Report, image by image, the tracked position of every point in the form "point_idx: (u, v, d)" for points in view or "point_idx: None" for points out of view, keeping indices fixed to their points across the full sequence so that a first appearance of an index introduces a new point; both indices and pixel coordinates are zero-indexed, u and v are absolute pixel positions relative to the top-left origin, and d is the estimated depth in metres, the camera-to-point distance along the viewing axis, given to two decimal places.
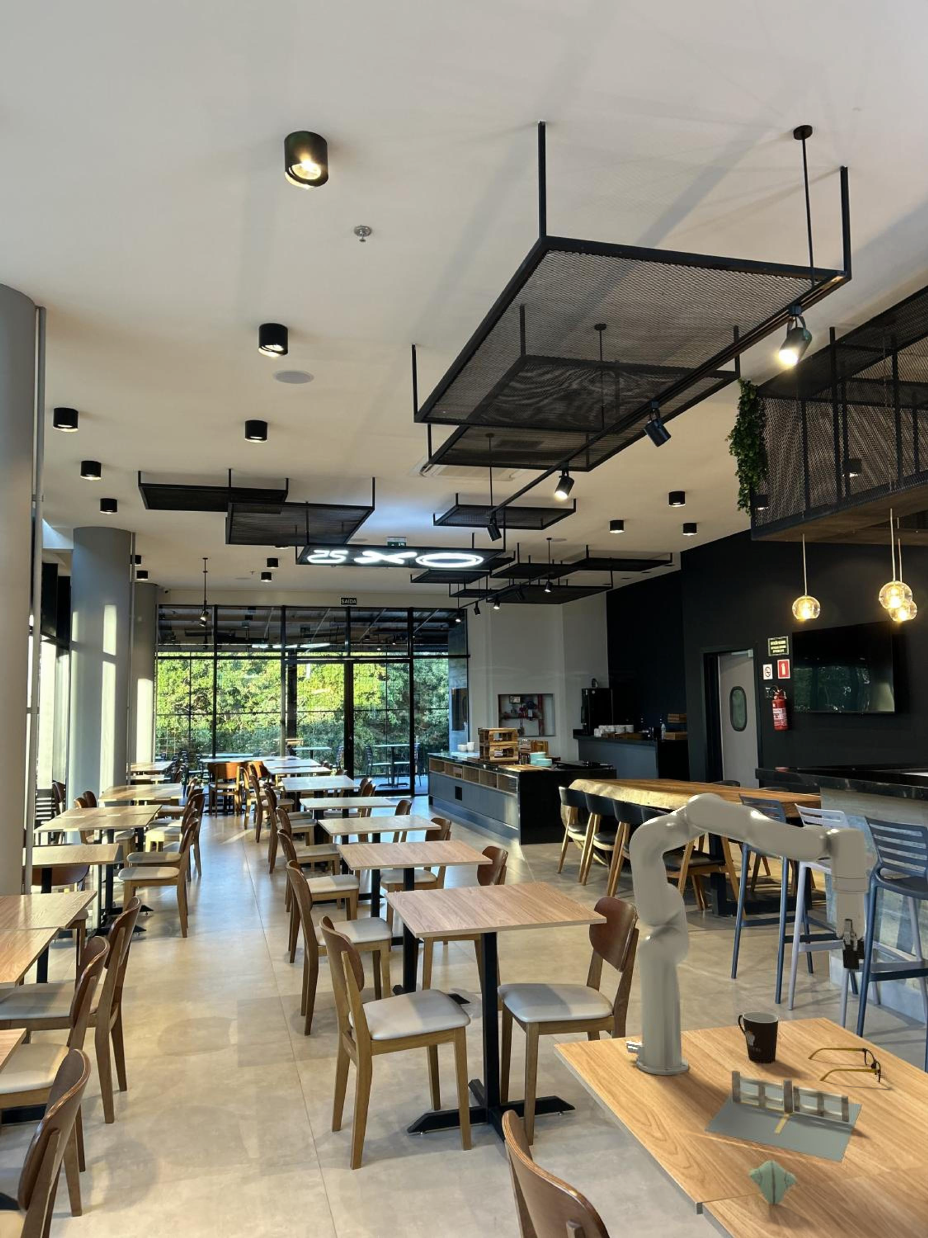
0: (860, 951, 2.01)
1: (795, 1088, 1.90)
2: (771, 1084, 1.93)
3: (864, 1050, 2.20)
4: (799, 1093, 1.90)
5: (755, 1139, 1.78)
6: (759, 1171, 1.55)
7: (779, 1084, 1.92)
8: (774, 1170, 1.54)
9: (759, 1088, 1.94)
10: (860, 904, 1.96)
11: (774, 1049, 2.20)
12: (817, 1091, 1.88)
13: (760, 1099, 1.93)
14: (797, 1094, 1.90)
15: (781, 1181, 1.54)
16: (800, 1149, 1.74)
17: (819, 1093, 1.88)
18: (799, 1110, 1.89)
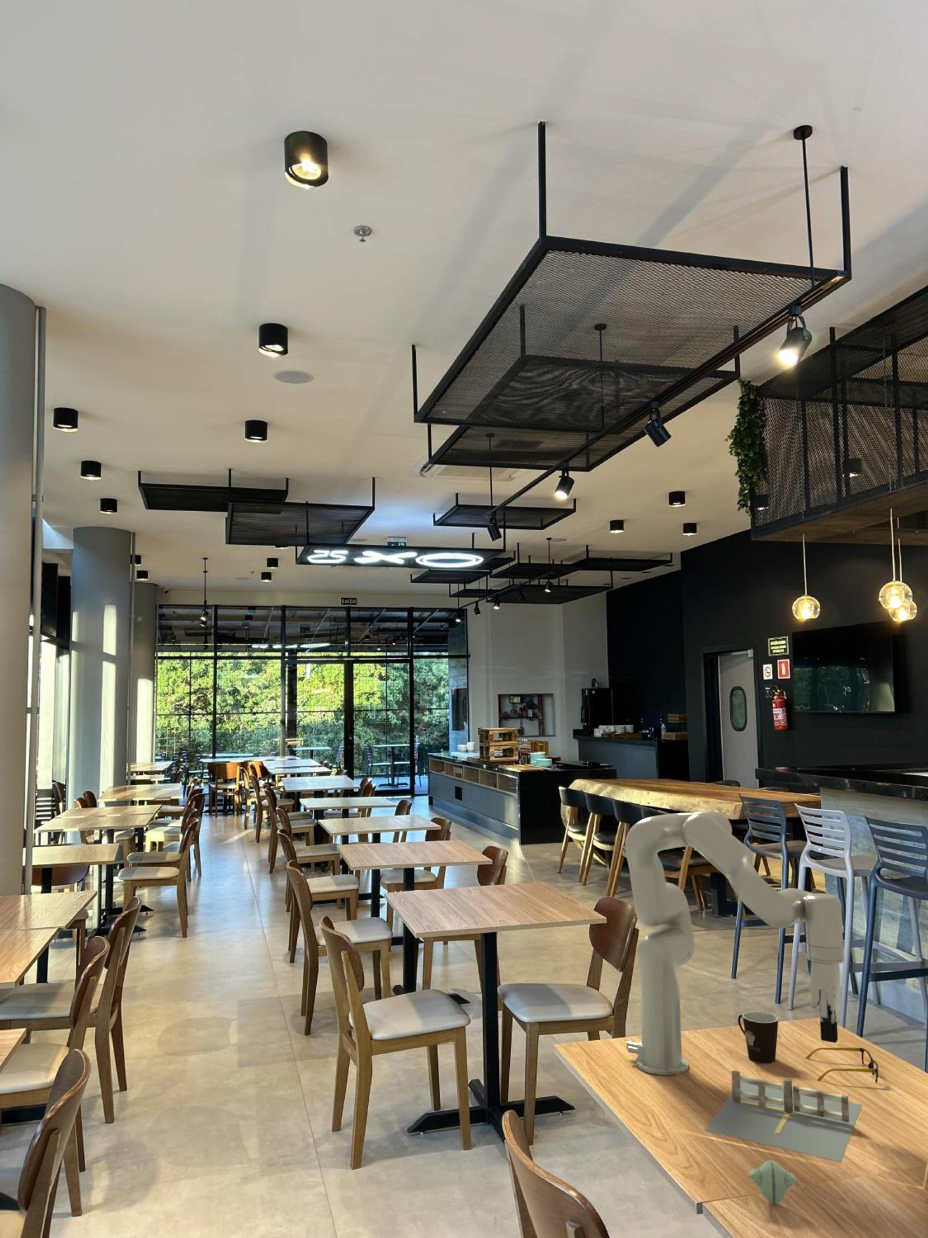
0: None
1: (795, 1088, 1.90)
2: (771, 1084, 1.93)
3: (861, 1050, 2.20)
4: (799, 1093, 1.90)
5: (755, 1139, 1.78)
6: (759, 1171, 1.55)
7: (779, 1084, 1.92)
8: (774, 1170, 1.54)
9: (759, 1088, 1.94)
10: (835, 974, 1.91)
11: (774, 1049, 2.20)
12: (817, 1091, 1.88)
13: (760, 1099, 1.93)
14: (797, 1094, 1.90)
15: (781, 1181, 1.54)
16: (800, 1149, 1.74)
17: (819, 1093, 1.88)
18: (799, 1110, 1.89)
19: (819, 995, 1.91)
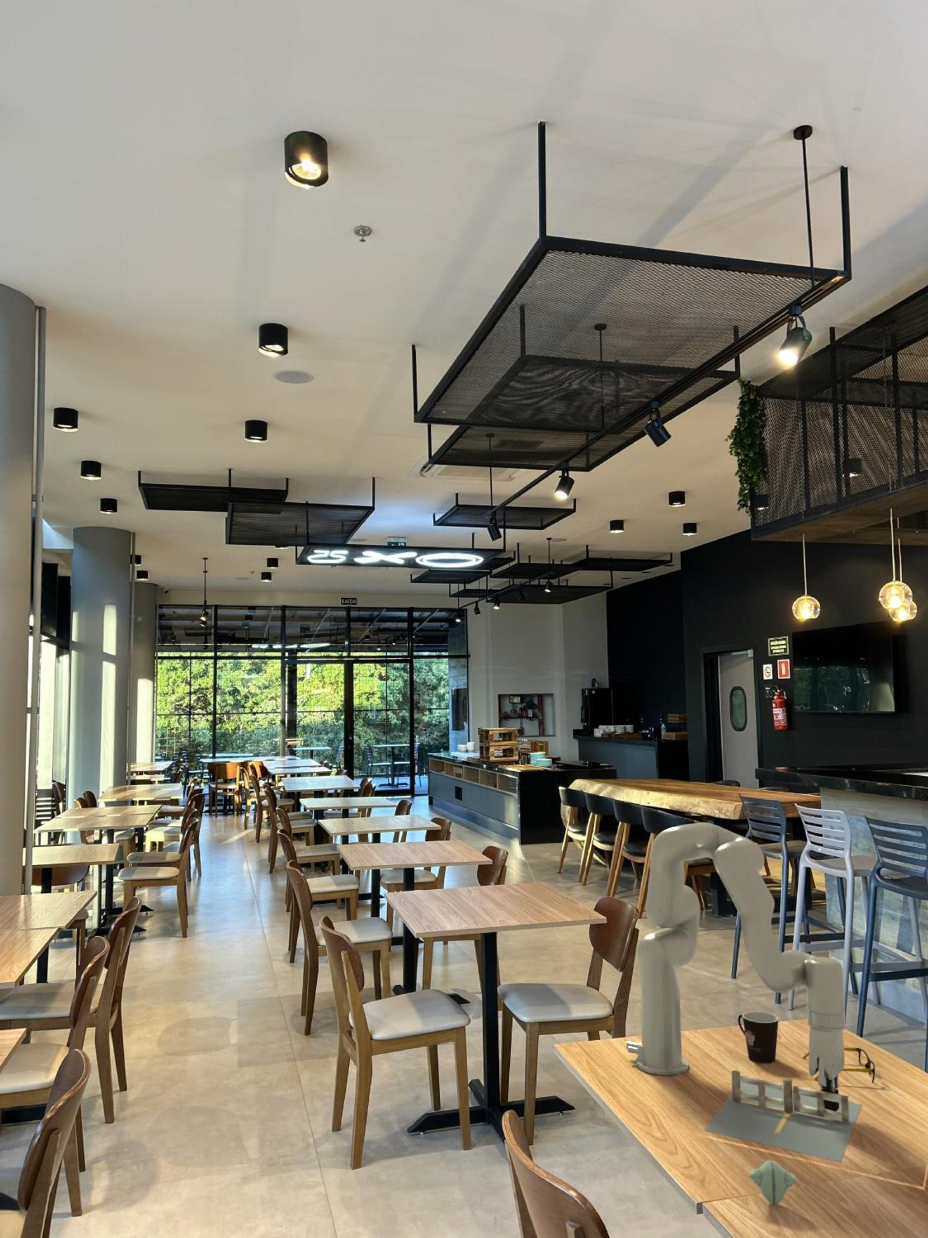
0: None
1: (795, 1088, 1.90)
2: (771, 1084, 1.93)
3: (858, 1050, 2.20)
4: (799, 1093, 1.90)
5: (755, 1139, 1.78)
6: (759, 1171, 1.55)
7: (779, 1084, 1.92)
8: (774, 1170, 1.54)
9: (759, 1088, 1.94)
10: (834, 1042, 1.88)
11: (774, 1049, 2.20)
12: (817, 1091, 1.88)
13: (760, 1099, 1.93)
14: (797, 1094, 1.90)
15: (781, 1181, 1.54)
16: (800, 1149, 1.74)
17: (819, 1093, 1.88)
18: (799, 1110, 1.89)
19: (817, 1062, 1.88)
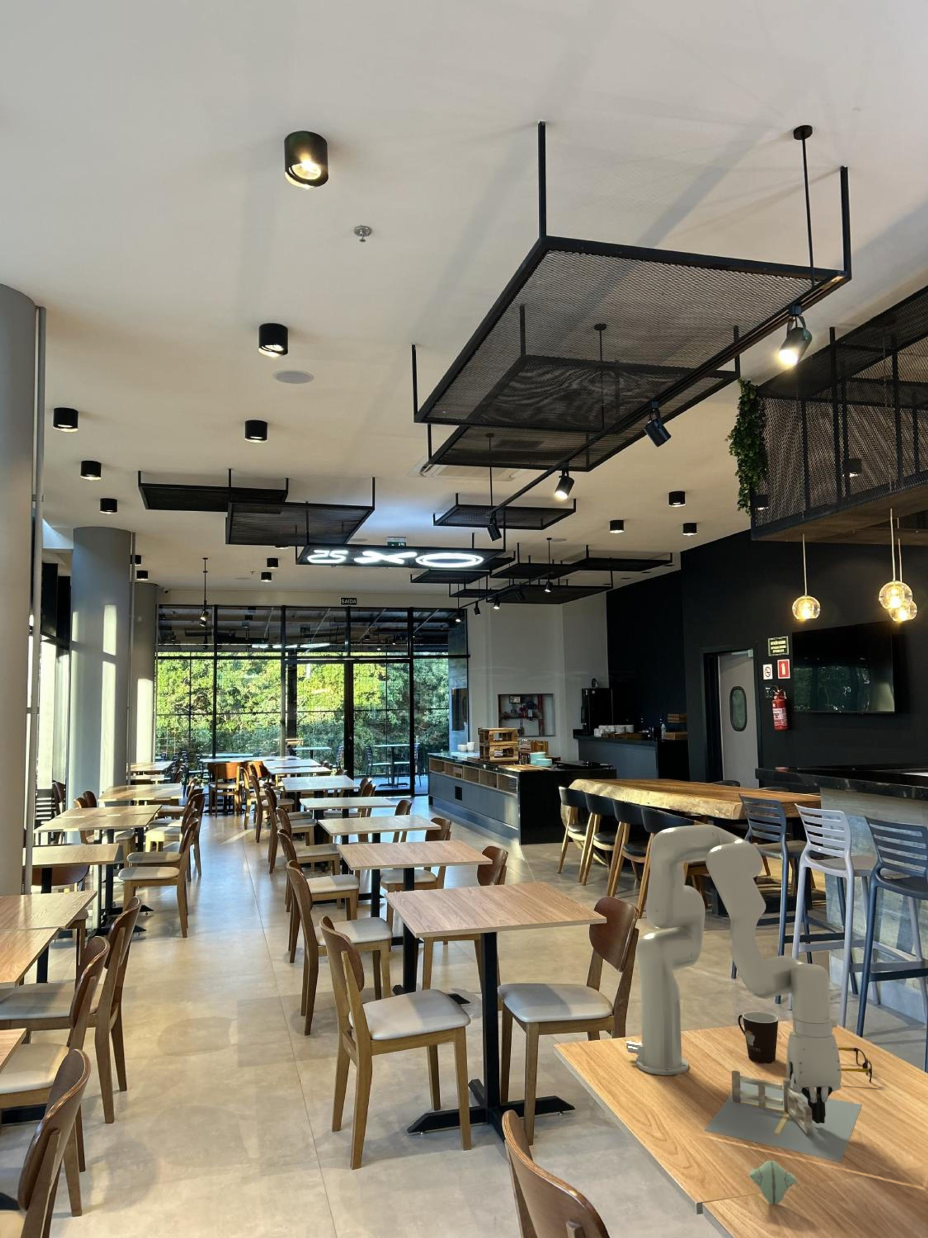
0: None
1: (787, 1089, 1.90)
2: (771, 1084, 1.93)
3: (856, 1050, 2.20)
4: (789, 1094, 1.89)
5: (755, 1139, 1.78)
6: (759, 1171, 1.55)
7: (779, 1084, 1.92)
8: (774, 1170, 1.54)
9: (759, 1088, 1.94)
10: (807, 1050, 1.83)
11: (774, 1049, 2.20)
12: (797, 1097, 1.85)
13: (760, 1099, 1.93)
14: (788, 1095, 1.89)
15: (781, 1181, 1.54)
16: (800, 1149, 1.74)
17: (796, 1098, 1.85)
18: (789, 1111, 1.89)
19: (791, 1067, 1.85)
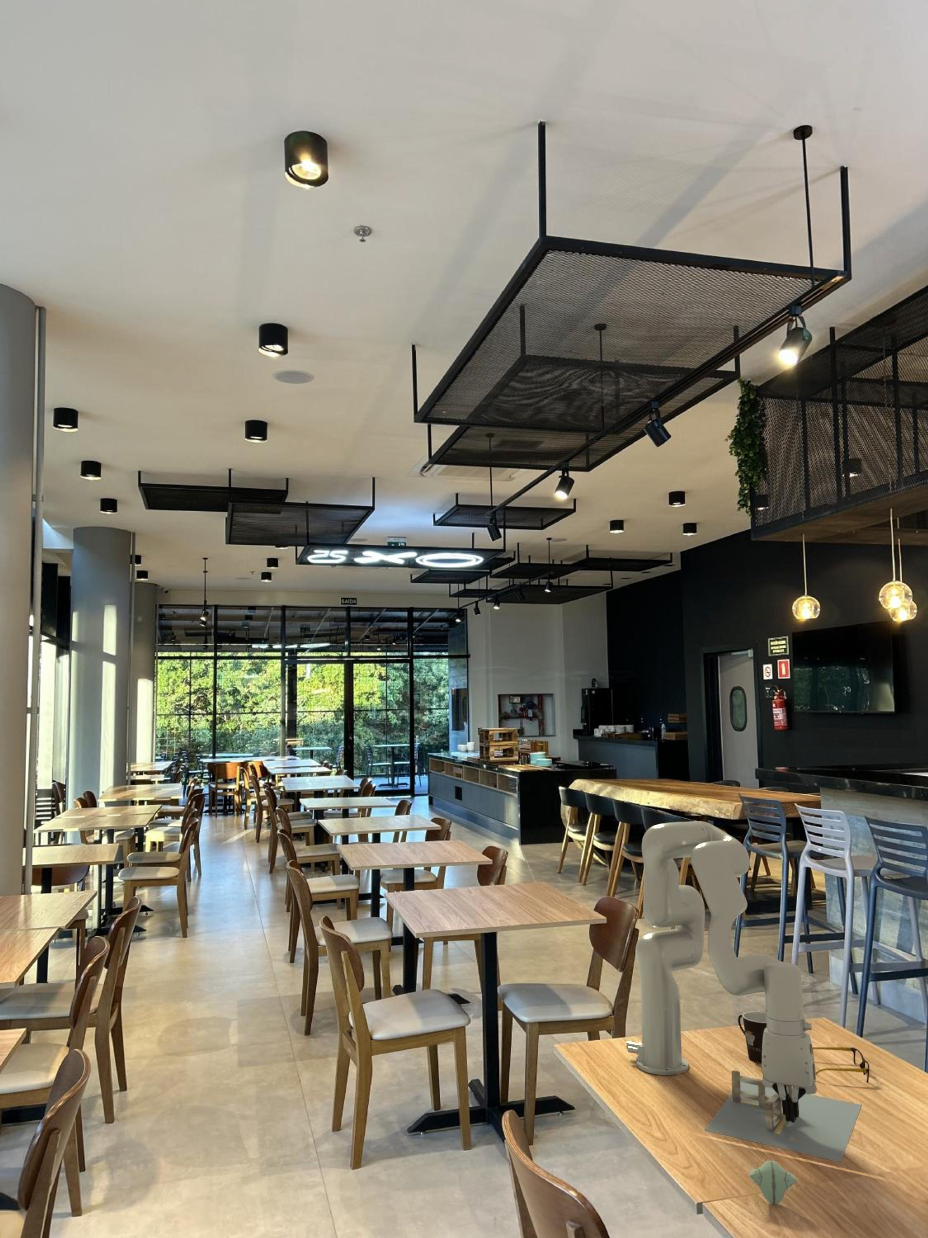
0: None
1: None
2: None
3: (853, 1050, 2.20)
4: None
5: (755, 1139, 1.78)
6: (759, 1171, 1.55)
7: None
8: (774, 1170, 1.54)
9: (759, 1088, 1.94)
10: (771, 1046, 1.84)
11: None
12: (777, 1094, 1.87)
13: (760, 1099, 1.93)
14: None
15: (781, 1181, 1.54)
16: (800, 1149, 1.74)
17: (774, 1095, 1.87)
18: None
19: None
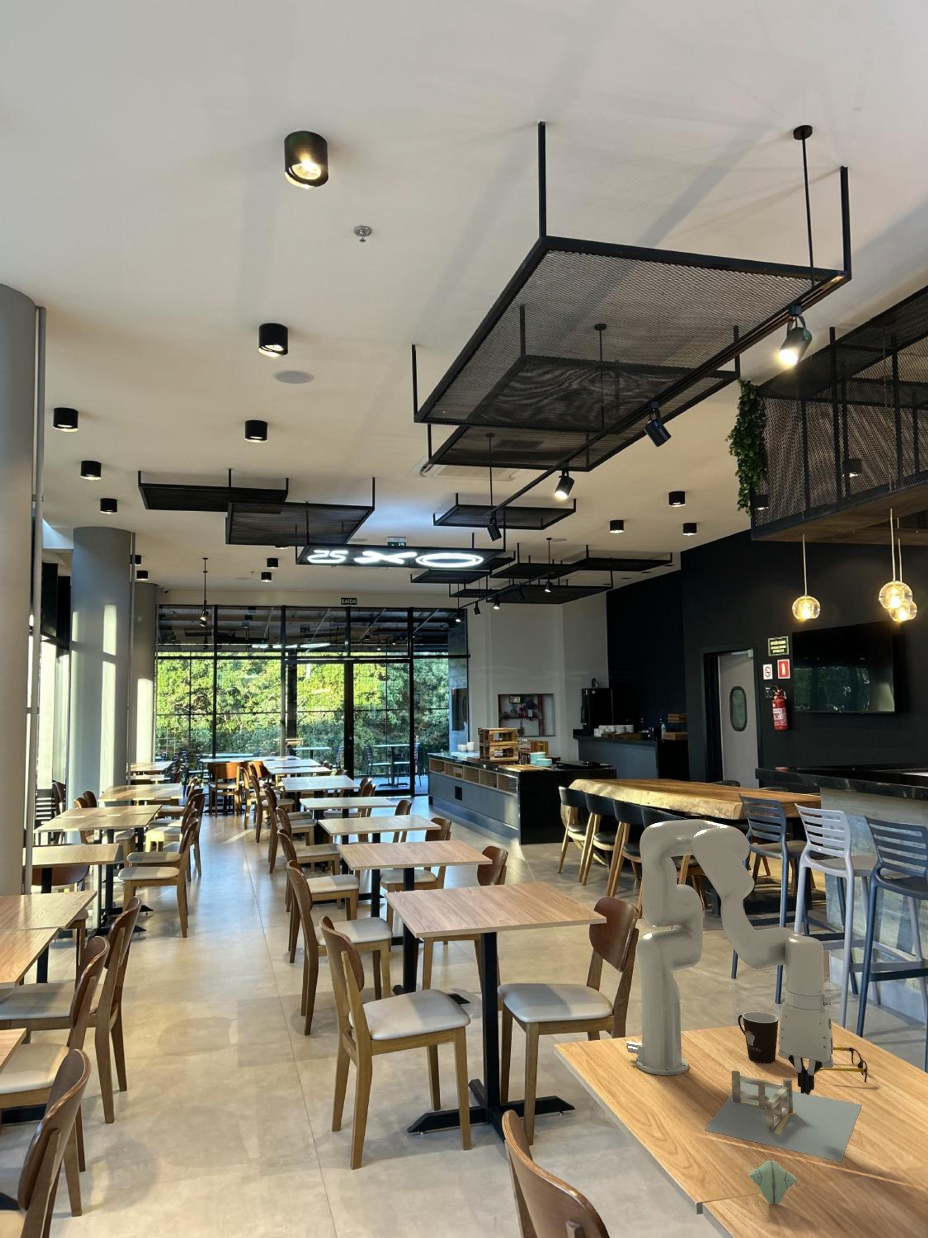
0: None
1: (782, 1087, 1.91)
2: (771, 1084, 1.93)
3: (851, 1050, 2.20)
4: None
5: (755, 1139, 1.78)
6: (759, 1171, 1.55)
7: (779, 1084, 1.92)
8: (774, 1170, 1.54)
9: (759, 1088, 1.94)
10: (789, 1019, 1.83)
11: (774, 1049, 2.20)
12: (777, 1094, 1.87)
13: (760, 1099, 1.93)
14: None
15: (781, 1181, 1.54)
16: (800, 1149, 1.74)
17: None
18: None
19: None
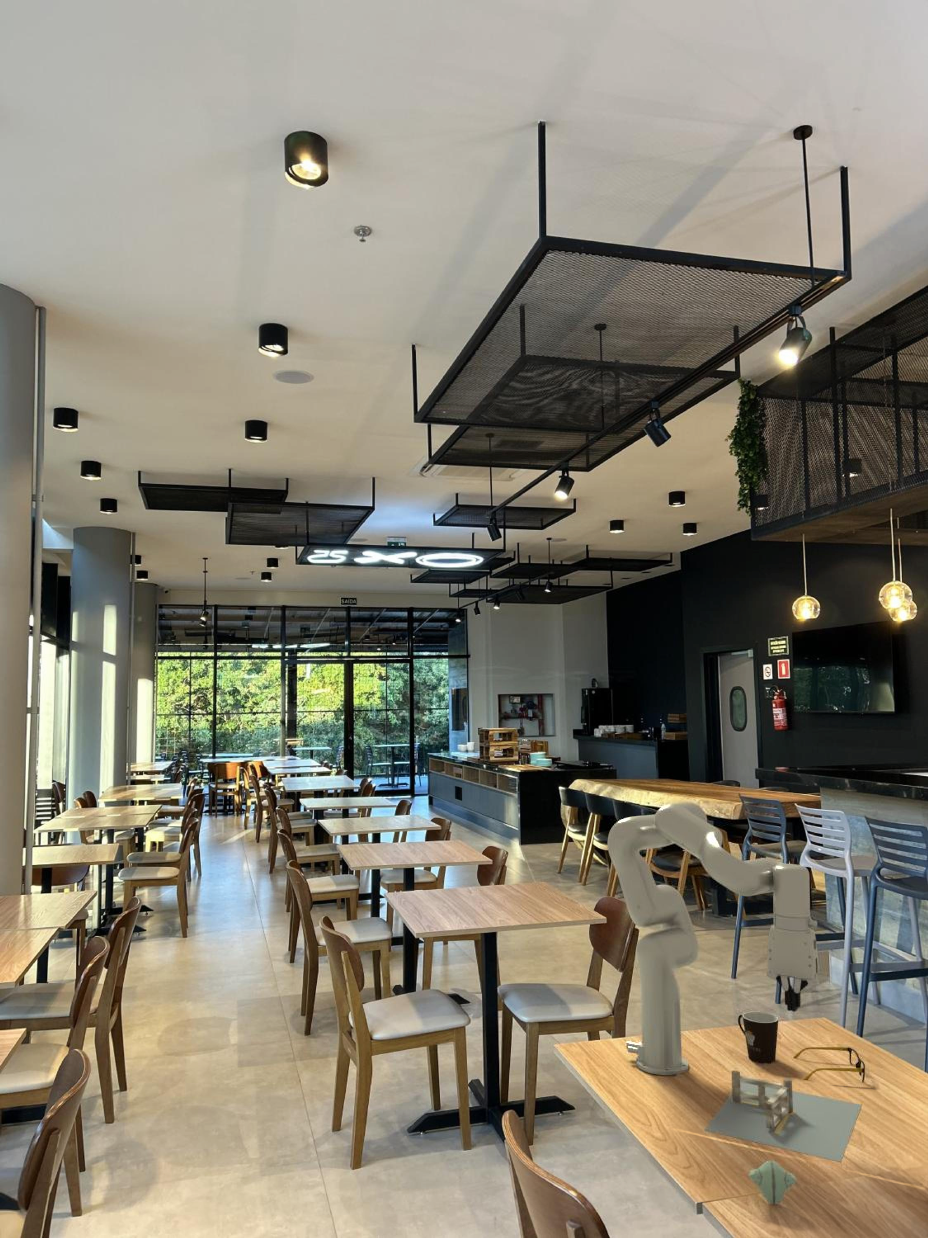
0: None
1: (782, 1087, 1.91)
2: (771, 1084, 1.93)
3: (849, 1049, 2.21)
4: None
5: (755, 1139, 1.78)
6: (759, 1171, 1.55)
7: (779, 1084, 1.92)
8: (774, 1170, 1.54)
9: (759, 1088, 1.94)
10: (777, 940, 1.94)
11: (774, 1049, 2.20)
12: (777, 1094, 1.87)
13: (760, 1099, 1.93)
14: None
15: (781, 1181, 1.54)
16: (800, 1149, 1.74)
17: None
18: None
19: None
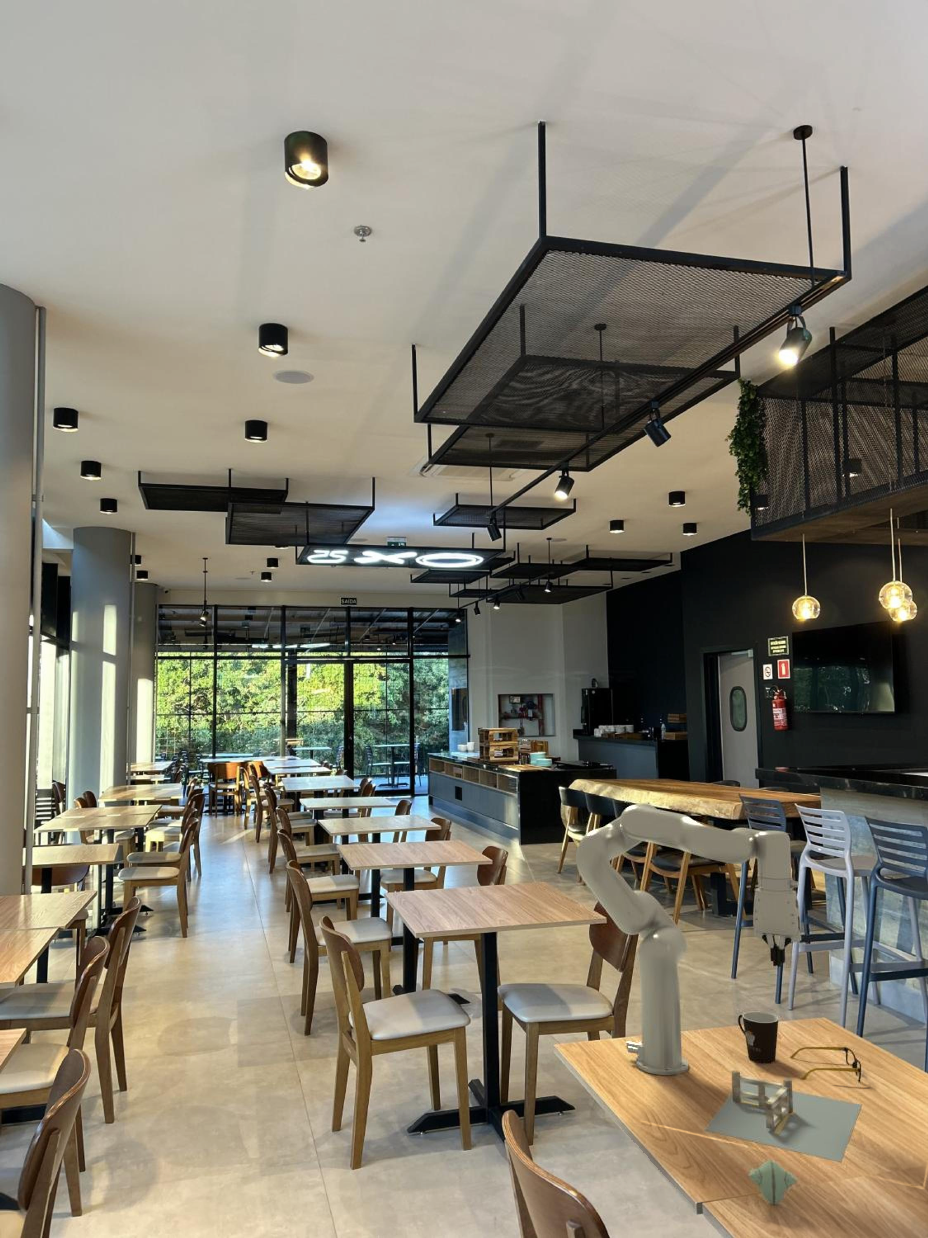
0: None
1: (782, 1087, 1.91)
2: (771, 1084, 1.93)
3: (846, 1049, 2.21)
4: None
5: (755, 1139, 1.78)
6: (759, 1171, 1.55)
7: (779, 1084, 1.92)
8: (774, 1170, 1.54)
9: (759, 1088, 1.94)
10: (762, 901, 2.09)
11: (774, 1049, 2.20)
12: (777, 1094, 1.87)
13: (760, 1099, 1.93)
14: None
15: (781, 1181, 1.54)
16: (800, 1149, 1.74)
17: None
18: None
19: None
